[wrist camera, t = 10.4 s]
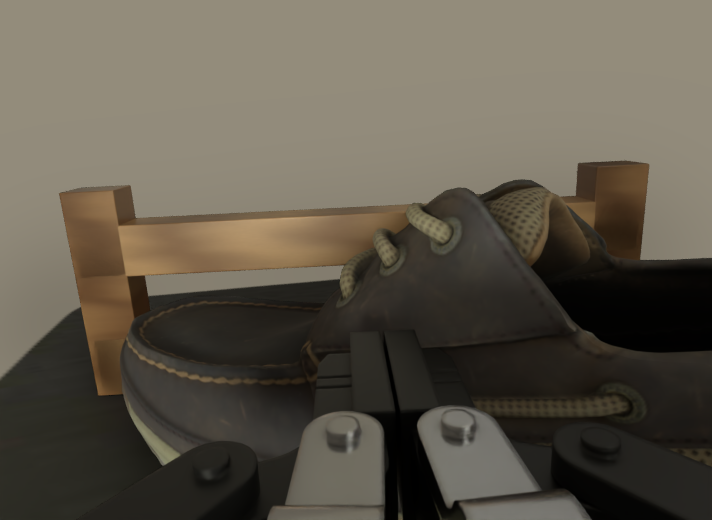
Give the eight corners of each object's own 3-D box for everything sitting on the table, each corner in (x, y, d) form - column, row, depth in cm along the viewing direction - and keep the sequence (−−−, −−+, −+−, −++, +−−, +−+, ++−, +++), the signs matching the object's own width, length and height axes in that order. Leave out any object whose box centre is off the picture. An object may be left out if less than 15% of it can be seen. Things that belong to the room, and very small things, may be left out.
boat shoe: (235, 363, 28) (212, 164, 25) (968, 474, 17) (1065, 148, 15) (59, 496, 18) (-10, 196, 16) (1481, 936, 8) (2059, 218, 5)
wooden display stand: (568, 310, 33) (578, 153, 31) (636, 366, 26) (656, 163, 23) (150, 332, 33) (125, 175, 31) (91, 396, 25) (51, 193, 23)
